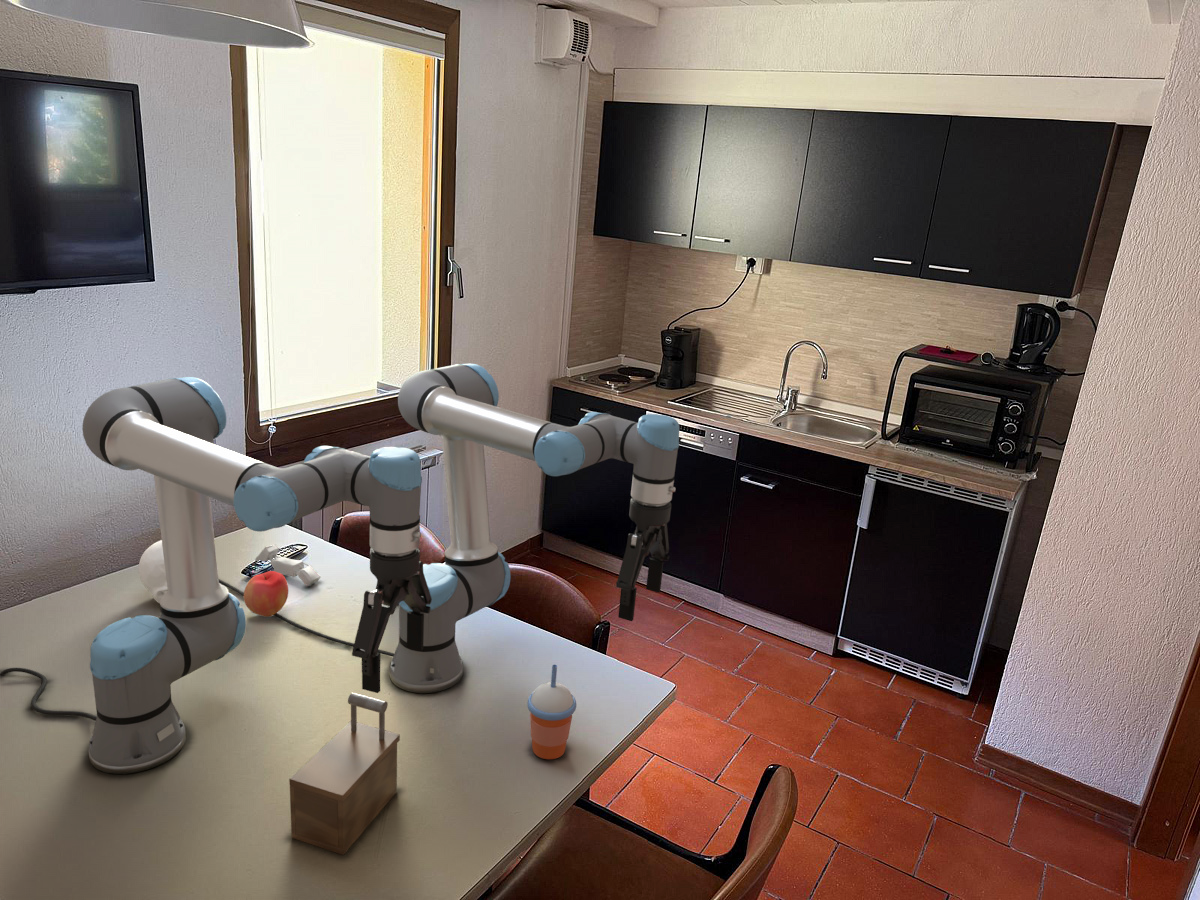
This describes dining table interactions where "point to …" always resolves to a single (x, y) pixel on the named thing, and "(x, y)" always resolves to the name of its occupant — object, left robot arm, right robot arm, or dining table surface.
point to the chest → (343, 809)
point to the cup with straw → (550, 717)
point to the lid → (347, 754)
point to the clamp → (288, 565)
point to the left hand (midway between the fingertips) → (394, 668)
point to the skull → (154, 571)
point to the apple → (266, 593)
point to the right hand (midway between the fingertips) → (639, 604)
